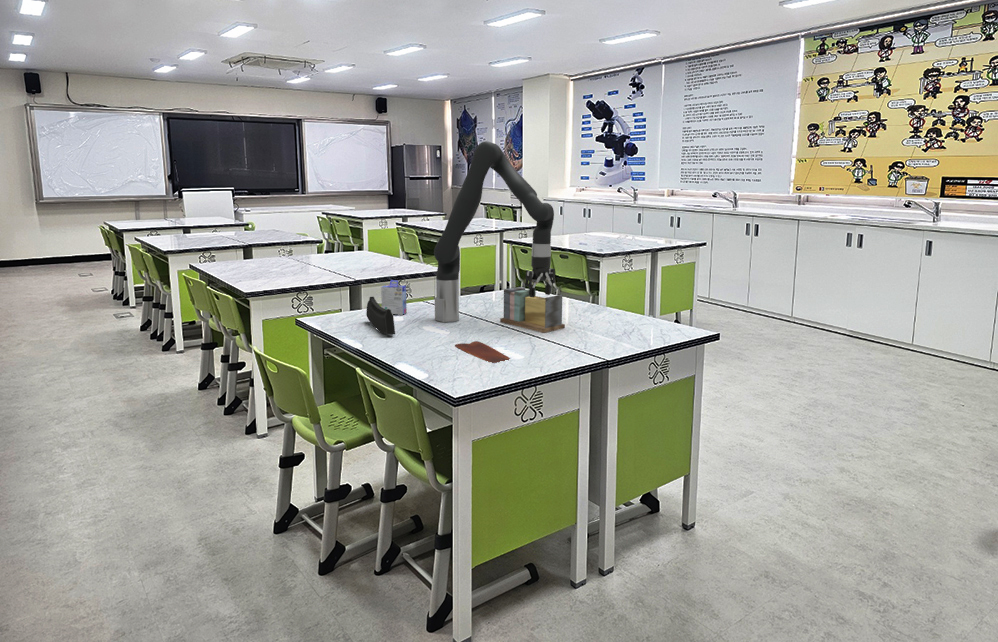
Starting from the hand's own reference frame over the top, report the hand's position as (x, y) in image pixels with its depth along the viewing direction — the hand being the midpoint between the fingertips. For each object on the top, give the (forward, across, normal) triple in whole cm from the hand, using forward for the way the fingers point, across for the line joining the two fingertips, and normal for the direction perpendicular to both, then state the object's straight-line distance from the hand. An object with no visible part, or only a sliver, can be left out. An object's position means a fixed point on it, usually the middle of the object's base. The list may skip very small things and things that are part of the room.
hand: (539, 295), depth 270 cm
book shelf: (+13, 0, -4) cm, 13 cm away
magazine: (+14, +50, -38) cm, 64 cm away
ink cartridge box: (+14, +30, -59) cm, 67 cm away
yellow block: (+11, 0, 0) cm, 11 cm away
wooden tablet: (+14, +42, +15) cm, 46 cm away
